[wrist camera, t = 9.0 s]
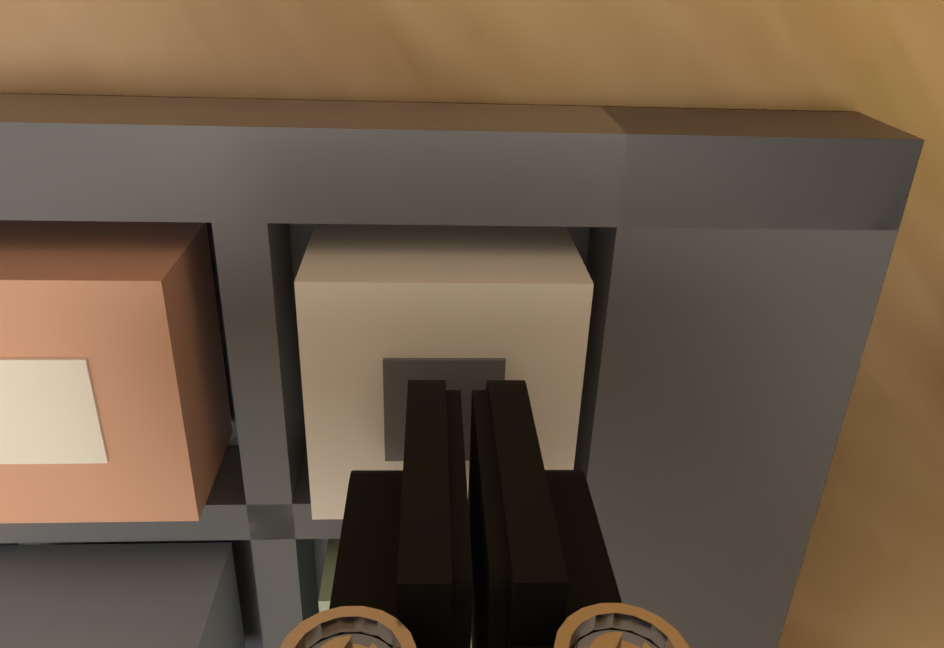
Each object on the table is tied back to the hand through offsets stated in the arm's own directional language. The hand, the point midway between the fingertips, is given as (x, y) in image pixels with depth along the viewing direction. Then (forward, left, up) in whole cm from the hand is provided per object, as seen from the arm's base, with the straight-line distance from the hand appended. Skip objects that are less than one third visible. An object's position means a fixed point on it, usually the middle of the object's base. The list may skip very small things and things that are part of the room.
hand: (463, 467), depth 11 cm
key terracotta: (+6, 0, -3) cm, 7 cm away
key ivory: (0, 0, -3) cm, 3 cm away
